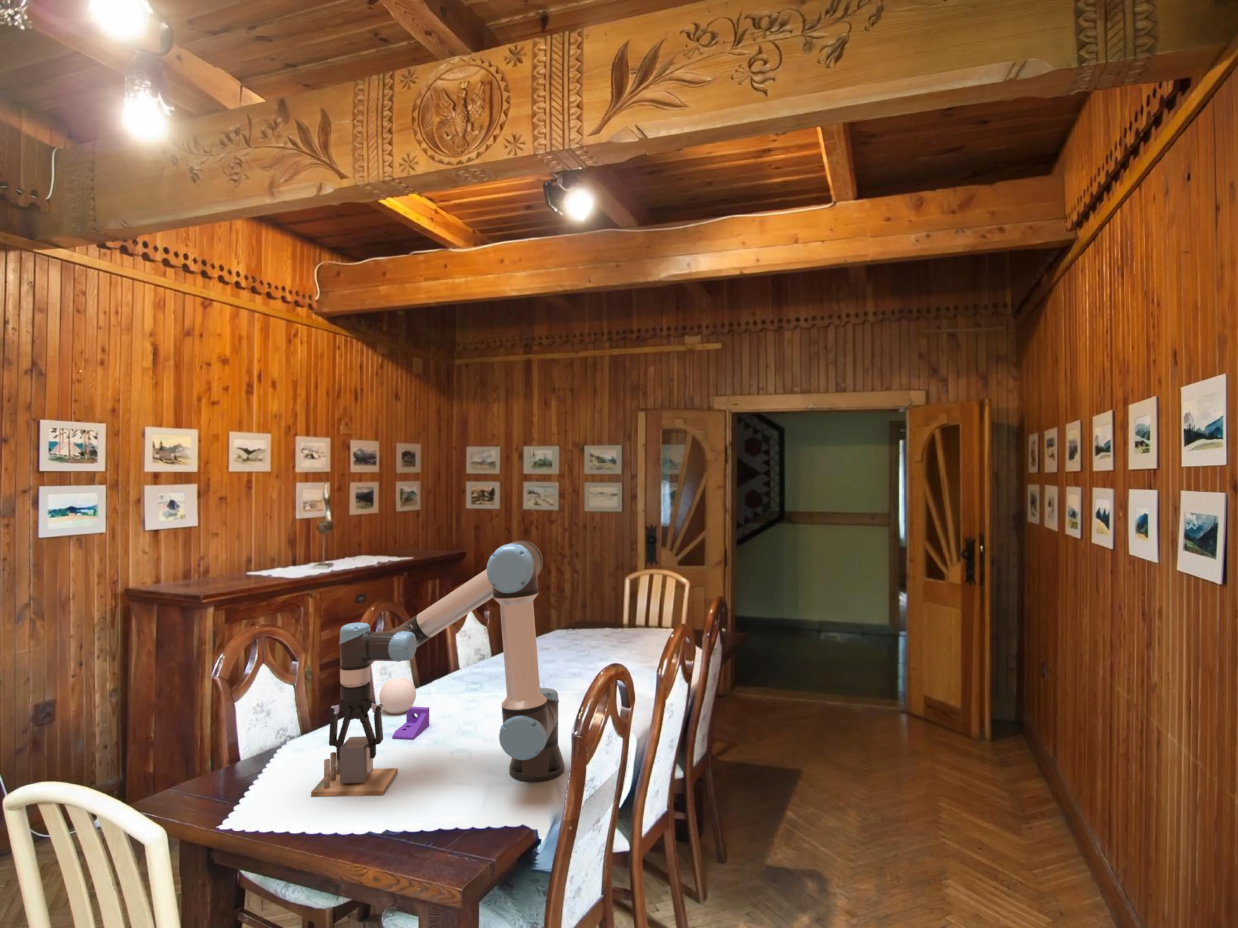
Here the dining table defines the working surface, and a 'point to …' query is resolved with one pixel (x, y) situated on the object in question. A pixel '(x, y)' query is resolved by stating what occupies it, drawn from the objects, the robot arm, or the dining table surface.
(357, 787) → the board
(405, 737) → the bracket
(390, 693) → the decorative ball
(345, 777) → the block
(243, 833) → the dining table surface
